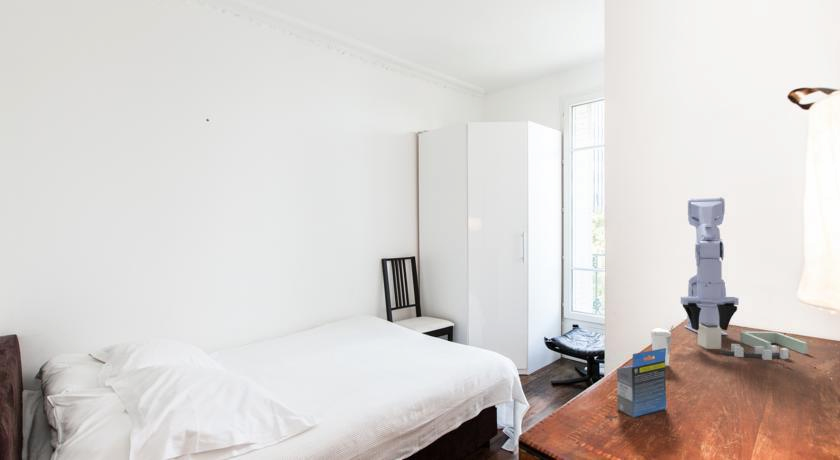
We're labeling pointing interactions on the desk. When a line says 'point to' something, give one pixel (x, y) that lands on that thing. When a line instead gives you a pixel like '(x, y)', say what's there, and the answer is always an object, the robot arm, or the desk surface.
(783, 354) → the clips
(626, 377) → the label tape cartridge
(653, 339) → the milkshake
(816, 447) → the desk surface
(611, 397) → the desk surface
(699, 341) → the block
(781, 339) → the holder
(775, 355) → the cable
